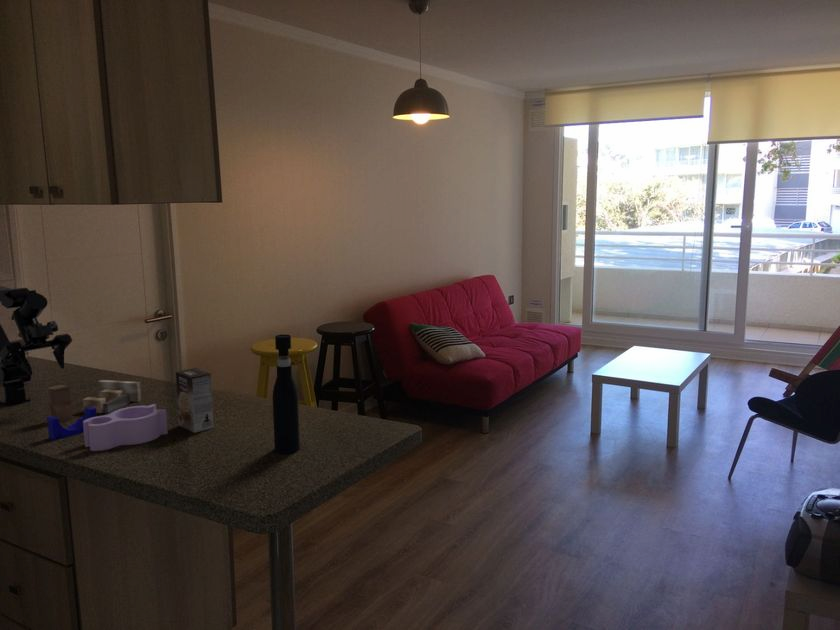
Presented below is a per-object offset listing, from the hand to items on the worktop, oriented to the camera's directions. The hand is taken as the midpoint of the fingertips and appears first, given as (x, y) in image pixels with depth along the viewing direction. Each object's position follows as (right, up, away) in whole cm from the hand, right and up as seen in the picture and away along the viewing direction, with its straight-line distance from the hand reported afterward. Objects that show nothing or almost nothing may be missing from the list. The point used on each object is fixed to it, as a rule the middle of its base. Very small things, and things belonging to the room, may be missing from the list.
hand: (47, 371), depth 202 cm
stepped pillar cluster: (+13, -12, +11) cm, 20 cm away
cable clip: (+14, -16, -13) cm, 25 cm away
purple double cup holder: (+31, -17, -18) cm, 40 cm away
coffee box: (+47, -15, -9) cm, 50 cm away
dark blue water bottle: (+76, -18, -26) cm, 82 cm away
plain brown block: (+6, -14, -3) cm, 15 cm away
